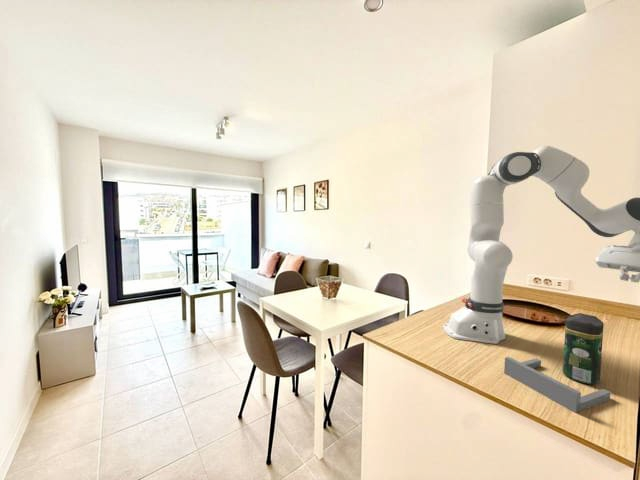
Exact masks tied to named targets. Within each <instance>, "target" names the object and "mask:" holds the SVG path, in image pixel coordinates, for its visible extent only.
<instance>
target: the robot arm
mask: <svg viewBox="0 0 640 480" xmlns="http://www.w3.org/2000/svg"><path fill="white" fill-rule="evenodd" d="M531 177H535V178H537V179H539V180H541V181H542V182H543V183H545V184H547V185H549V186H550V187H551V188H552V189H553V190H554V194H555V196H556V198H557V200H559V202H561V203H562V204H563V205H564V206H565V207H566V208H568V209H569V210H570V211H571V212H572V213H574V214H575V215H576V216H577V217H578V218H580V219H581V220H582V222H584V223H585V224H586V225H587V227H588V228H589V229H590V230H591V231H592V232H593V233H594V234H595V235H596V234H597V236H600V237H603V238H613V237H615V236H619V235H621V234H624V233H625V232H629V231H633V232H634V235H633V236H632V238H631V240H630V241H629V242H628V244H627V245H616V244H612V245H610V246H609V245H607V246H604V247H603V248H602V250H601V251H600V252H599V253H598V254H597V256H596V257H595V259H594V262H595V264H596V265H597V266H598V267H599V268H602V269H611V270H616V271H617V270H618V271H620V273H621V274H620V276H619V279H620V281H623V282H628V281H629V280H630V282H632V283H637V284H638V283H639V282H640V197H637V196H636V197H632V198H630V199H627V200H624V201H622V202H619V203H617V204H615V205H613V206H610V207H608V208H599V207H597V206H596V205H595V204H593V203H592V202H591V201H590V200H589V199H588V198H586V197H585V196H584V195H583V194H582V188H583V187H584V186H585V185H586V184H587V182H588V179H589V177H590V168H589V166H588V165H587V164H586V163H585V162H583V160H581V159H579V158H578V157H575V156H574V155H572V154H570V153H568V152H566V151H564V150H561V149H558V148H557V147H554V146H550V145H542V146H540V147H537V148H536V149H534V150H532V152H526V151H524V152H523V151H516V152H511V153H509V154H507V155H505V156H502V157H501V158H500V159H499V160H497V161H496V163H494V164H493V166H492V167H491V169H490V171H489V173H488V174H487V175H482V176H479V177H477V178H476V179H475V180H474V181H473V182H472V186H471V191H470V192H471V193H470V232H469V238H468V245H467V246H468V247H467V254H468V256H469V258H470V259H471V260H472V261H474V263H475V266H474V271H473V275H472V277H471V280H470V297H469V298H466V297H464V296H463V297H462V296H461V299H460V300H461V302H462V303H464V306H463V307H461V308H460V309H458V310H455V312H452V313H451V315H450V317H449V321H448V322H445V323H443V327H442V329H443V330H444V332H445V333H446V334H447V335H448V336H450V337H452V338H453V339H456V340H464V341H471V342H477V343H484V344H485V343H487V344H492V345H493V344H495V345H496V344H499V343H500V342H501V341H503V340H505V339H507V338H506V333H505V328H504V324H503V323H504V322H503V315H504V301H503V295H504V293H503V291H504V282H505V276H506V273H507V270H508V267H509V266H510V264H511V263H512V261H513V257H514V256H513V252H512V250H511V249H510V247H509V246H507V244H505V243H504V242H502V241H500V236H501V231H502V227H503V226H504V220H505V218H504V215H505V214H504V191H505V189H506V187H507V186H511V185H516V184H518V183H521V182H523V181H526V180H527V179H529V178H531ZM629 272H632V273H633V272H634V273H637V274H631V276H630V275H629Z"/></svg>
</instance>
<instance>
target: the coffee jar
mask: <svg viewBox="0 0 640 480" xmlns="http://www.w3.org/2000/svg"><path fill="white" fill-rule="evenodd" d="M604 326H605V324H604V322H603V321H602V319H600V318H599V317H598V316H596V315H590V314H585V313H583V312H582V313H580V312H577V313H574V314H571V315H569V316H567V317H566V319H565V326H564V344H563V346H564V347H563V361H562V373H563V375H564V376H566V377H568V378H570V379H571V380H573V381H575V382H579V383H581V384H586V385H587V384H588V385H596V384H597V383H599V381H600V379H601V371H602V355H603V354H602V353H603V352H602V351H603V340H604V339H603V338H604Z"/></svg>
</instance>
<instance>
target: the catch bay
mask: <svg viewBox="0 0 640 480" xmlns="http://www.w3.org/2000/svg"><path fill="white" fill-rule="evenodd" d="M541 366H542V360H541V359H539V358H537V357H536V358H532V359H529V360H525V361H518V360H517V359H515V358H512V357H510V356H505V357H504V369H503V370H504V372H503V373H504V374H505V375H507V376H509V377H511V378H513V379H514V380H515V381H517V382H519V383H521V384H523V385H524V386H526V387H528V388H530V389H532V390H534V391H536V392H537V393H539V394H541V395H543V396H545V397H547V398H548V399H550V400H551V401H553V402H556V403H557V404H559V405H560V406H563V408H566V409H567V410H570V411H571V412H574V413H575V414H577V413H579V412H582V411H584V410H586V409H589V408H592V407H594V406H596V405H599V404H602V403H604V402H607V401H609V400H611V395H612V394H611V391H609V390H607V389H606V388H605V389H604V388H602V389H601V388H600V389H597V390H596V391H593V392H590V393H588V394H585V395H583V396H581V393H582V392H581V391H579V390H577V389H576V388H573V387H571V386H569V385H566V384H565V383H563V382H561V381H559V380H557V379H555V378H553V377H551V376H548V375H546V374H545V373H542V372H540V371H538V370H536V369H539V368H541Z"/></svg>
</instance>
